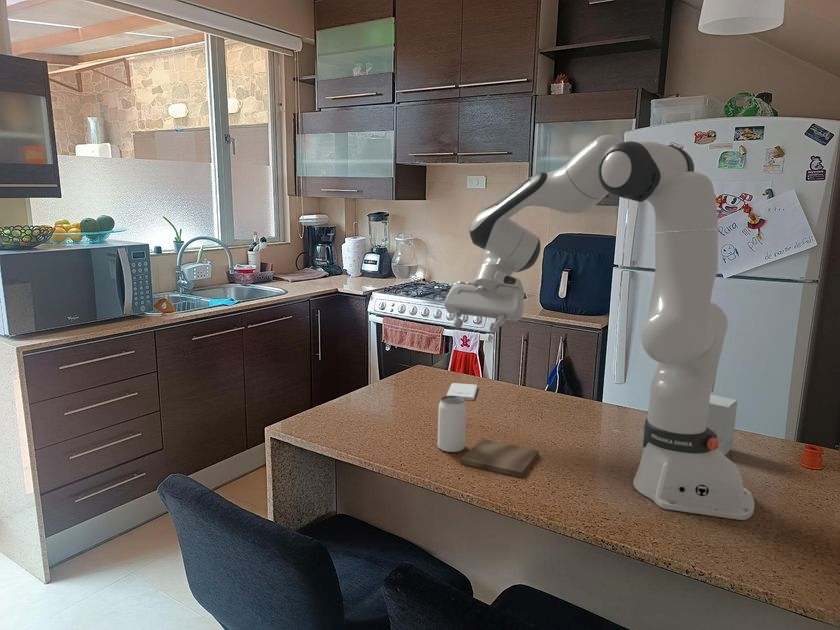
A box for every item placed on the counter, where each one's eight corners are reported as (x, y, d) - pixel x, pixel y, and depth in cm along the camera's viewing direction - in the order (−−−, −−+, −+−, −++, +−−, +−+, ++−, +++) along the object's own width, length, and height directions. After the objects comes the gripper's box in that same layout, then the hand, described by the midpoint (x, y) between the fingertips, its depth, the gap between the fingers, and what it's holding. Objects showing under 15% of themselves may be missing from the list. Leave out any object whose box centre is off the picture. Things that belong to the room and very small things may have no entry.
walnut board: (538, 455, 140) (538, 450, 140) (521, 477, 129) (521, 472, 129) (482, 443, 147) (482, 438, 146) (460, 463, 135) (460, 458, 135)
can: (469, 446, 145) (471, 398, 142) (456, 455, 139) (458, 405, 137) (446, 440, 148) (447, 393, 146) (432, 449, 143) (433, 400, 140)
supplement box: (732, 449, 146) (739, 399, 143) (722, 459, 140) (729, 407, 138) (700, 441, 151) (706, 392, 148) (690, 449, 145) (695, 399, 143)
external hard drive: (477, 389, 190) (473, 402, 178) (451, 387, 191) (445, 400, 179) (477, 384, 189) (473, 397, 177) (451, 382, 191) (446, 394, 179)
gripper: (450, 273, 158) (433, 316, 152) (526, 280, 149) (511, 326, 143) (456, 288, 163) (440, 330, 157) (530, 295, 154) (516, 341, 147)
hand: (474, 328), depth 150 cm, fingers open, 8 cm apart
